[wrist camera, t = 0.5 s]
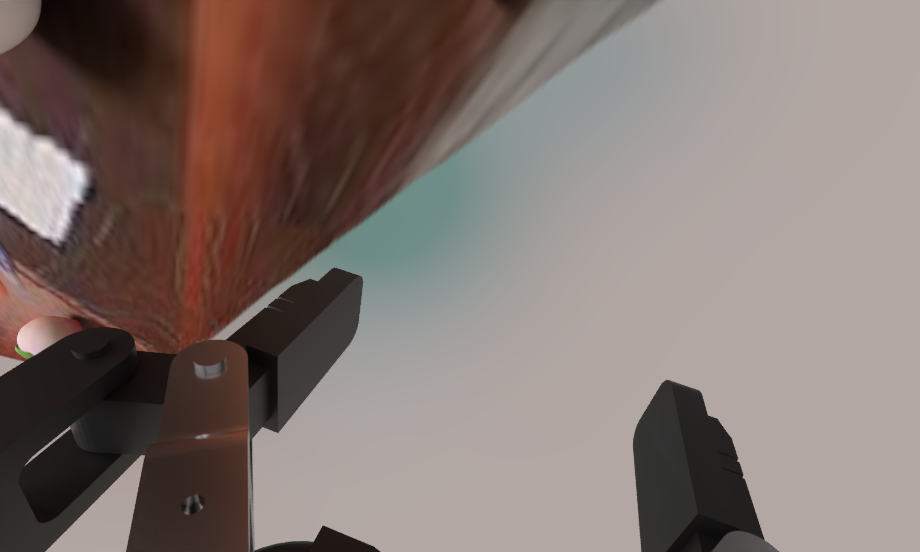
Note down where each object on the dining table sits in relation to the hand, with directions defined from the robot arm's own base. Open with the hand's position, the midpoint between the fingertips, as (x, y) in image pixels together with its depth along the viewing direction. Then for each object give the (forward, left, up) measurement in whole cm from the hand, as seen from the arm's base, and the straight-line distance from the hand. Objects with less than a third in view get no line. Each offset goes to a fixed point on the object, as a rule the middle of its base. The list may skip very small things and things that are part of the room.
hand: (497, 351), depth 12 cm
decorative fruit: (-23, -94, -27) cm, 100 cm away
